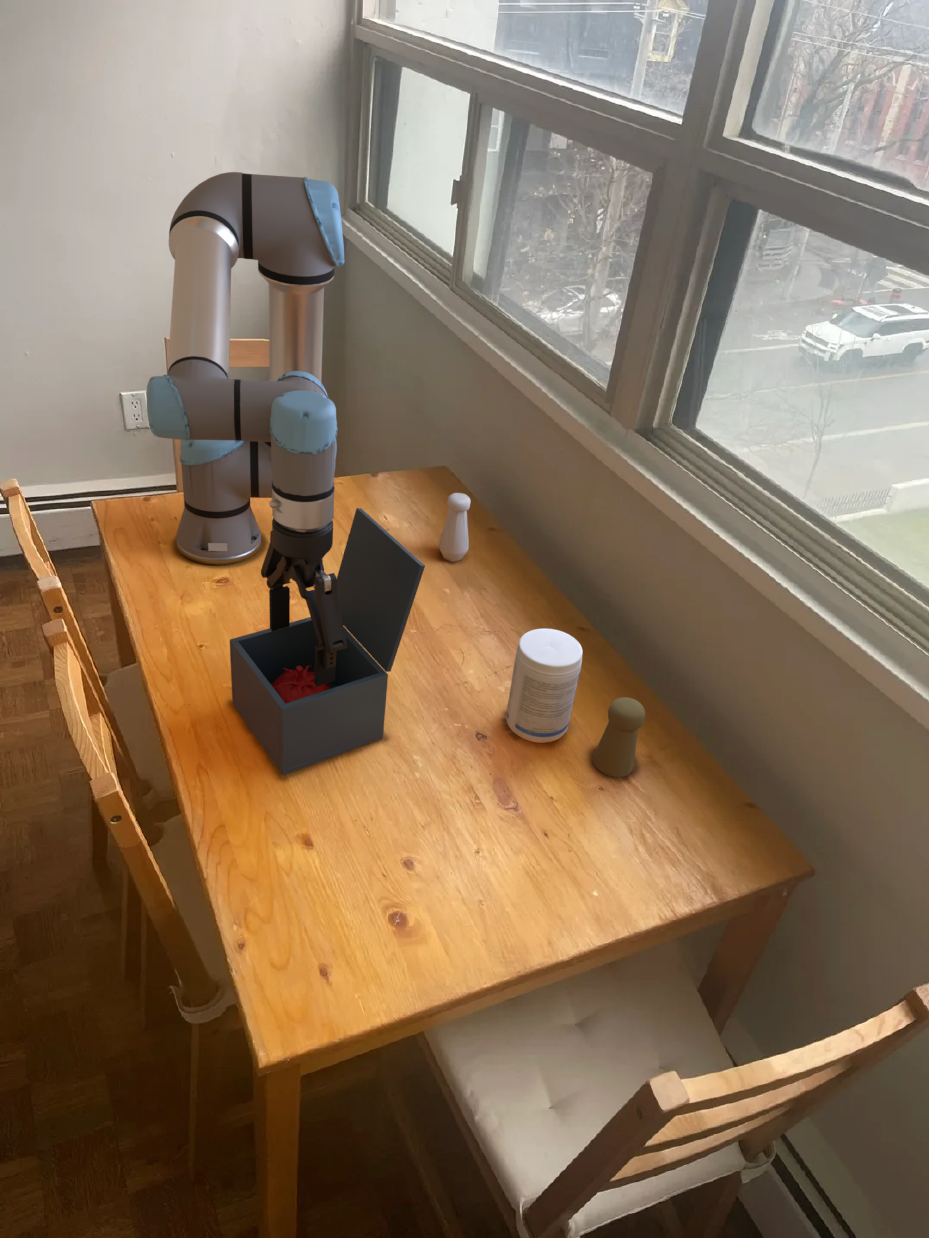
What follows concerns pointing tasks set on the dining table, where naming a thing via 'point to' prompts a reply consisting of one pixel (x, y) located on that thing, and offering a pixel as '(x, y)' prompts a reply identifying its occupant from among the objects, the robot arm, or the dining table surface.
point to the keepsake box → (314, 720)
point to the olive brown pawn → (619, 738)
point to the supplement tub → (543, 685)
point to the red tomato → (297, 684)
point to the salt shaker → (455, 528)
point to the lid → (376, 588)
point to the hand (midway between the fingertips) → (301, 653)
